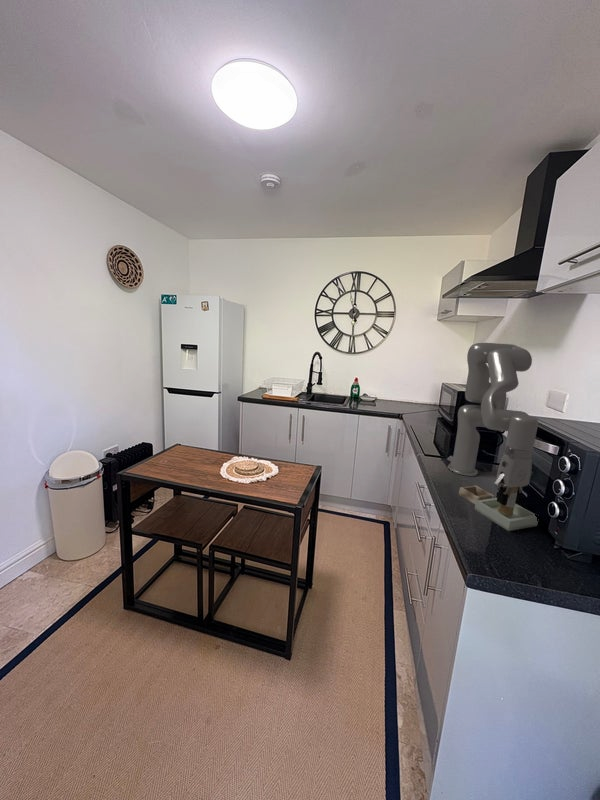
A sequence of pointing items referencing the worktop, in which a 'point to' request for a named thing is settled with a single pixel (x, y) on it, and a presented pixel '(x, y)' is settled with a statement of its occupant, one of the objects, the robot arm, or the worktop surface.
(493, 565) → the worktop surface
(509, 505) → the sprinkles bottle
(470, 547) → the worktop surface
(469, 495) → the collar
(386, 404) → the worktop surface
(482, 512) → the tray
